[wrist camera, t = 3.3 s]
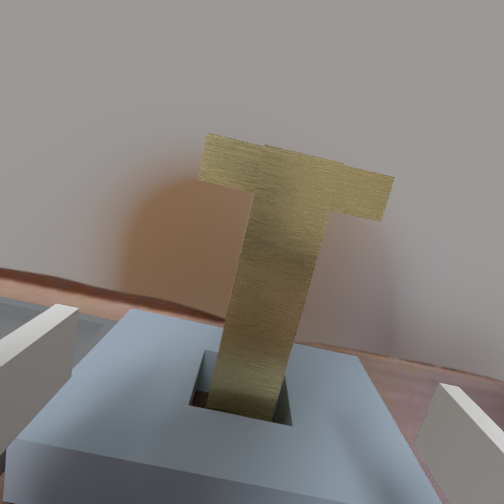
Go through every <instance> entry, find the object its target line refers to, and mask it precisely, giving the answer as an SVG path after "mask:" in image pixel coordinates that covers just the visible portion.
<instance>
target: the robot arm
mask: <svg viewBox="0 0 504 504" xmlns="http://www.w3.org/2000/svg"><path fill="white" fill-rule="evenodd" d="M78 313H79V308H75V307H70V306H65V305H60V304H56V305H54V306H52V307H51V308H49V309H48V310H46V311H45V312H43V313H42V314H40V315H38V316H37V317H35V318H34V319H32V320H31V321H29V322H27V323H26V324H24V325H23V326H21V327H20V328H18V329H16V330H15V331H13V332H12V333H10V334H9V335H7V336H5V337H4V338H2V339H1V340H0V455H1V454H2V453H3V452H4V451H5V449H6V448H7V447H8V446H9V445H10V444H11V443H12V442H13V441H14V440H15V439H16V437H17V436H18V435H19V434H20V433H21V432H22V431H23V430H24V429H25V428H26V426H27V425H28V424H29V423H30V422H31V421H32V420H33V419H34V418H35V417H36V416H37V414H38V413H39V412H40V411H41V410H42V409H43V408H44V407H45V406H46V405H47V403H48V402H49V401H50V400H51V399H52V398H53V397H54V396H55V395H56V394H57V393H58V391H59V390H60V389H61V388H62V387H63V386H64V385H65V384H66V383H67V382H68V380H69V379H70V378H71V375H72V366H73V357H74V348H75V340H76V331H77V322H78ZM414 445H415V447H416V449H417V450H418V452H419V454H420V455H421V457H422V459H423V460H424V462H425V463H426V465H427V467H428V468H429V470H430V472H431V473H432V475H433V477H434V478H435V480H436V482H437V483H438V485H439V486H440V488H441V490H442V491H443V493H444V495H445V496H446V498H447V500H448V501H449V503H450V504H504V432H503V431H502V430H501V429H500V428H499V427H498V426H497V425H496V424H495V423H494V422H493V421H492V420H491V419H490V418H489V417H488V416H487V415H486V414H485V413H484V412H483V411H482V410H481V409H480V408H479V407H478V406H477V405H476V404H475V403H474V402H473V401H472V400H471V399H470V398H469V397H468V396H467V395H466V394H465V393H464V392H463V391H462V390H461V389H460V388H459V387H458V386H453V385H448V384H443V383H439V384H438V386H437V389H436V391H435V394H434V396H433V399H432V401H431V404H430V406H429V409H428V411H427V414H426V416H425V419H424V421H423V424H422V426H421V429H420V431H419V434H418V436H417V438H416V441H415V443H414Z"/></svg>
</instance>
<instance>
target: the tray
mask: <svg viewBox="0 0 504 504" xmlns="http://www.w3.org/2000/svg"><path fill="white" fill-rule="evenodd" d="M49 308H51V307H48V306H43V305H38V304H34V303H29V302H24V301H19V300H15V299H10V298H5V297H0V340H1V339H2V338H4V337H5V336H7V335H9V334H10V333H12V332H13V331H15V330H16V329H18V328H20V327H21V326H23V325H24V324H26V323H27V322H29V321H31V320H32V319H34V318H35V317H37V316H38V315H40V314H42V313H43V312H45V311H46V310H48V309H49ZM118 322H119V321H114V320H109V319H105V318H100V317H95V316H90V315H86V314H81V313H78V322H77V331H76V340H75V348H74V357H73V366H72V369H73V368H74V367H75V366H76V365H77V364H78V363H79V362H80V361H81V360H82V359H83V358H84V357H85V356H86V355H87V354H88V353H89V352H90V351H91V350H92V349H93V348H94V347H95V346H96V345H97V344H98V342H99V341H100V340H101V339H102V338H103V337H104V336H105V335H106V334H107V333H108V332H109V331H110V330H111V329H112V328H113V327H114V326H115V325H116V324H117V323H118ZM6 449H7V448H6ZM6 449H5V451H4V452H3V453H2V454H1V455H0V474H1V473H2V472H3V471H4V470H5V464H6Z"/></svg>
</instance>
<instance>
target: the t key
mask: <svg viewBox="0 0 504 504" xmlns="http://www.w3.org/2000/svg"><path fill="white" fill-rule="evenodd" d="M199 180H201V181H206V182H210V183H214V184H219V185H223V186H227V187H231V188H236V189H240V190H245V191H249V192H253V193H254V194H253V198H252V203H251V207H250V212H249V216H248V221H247V225H246V230H245V234H244V239H243V243H242V248H241V252H240V256H239V261H238V266H237V270H236V274H235V279H234V283H233V288H232V292H231V297H230V301H229V306H228V310H227V315H226V319H225V323H224V328H223V332H222V337H221V341H220V346H219V350H218V355H217V359H216V364H215V368H214V373H213V377H212V382H211V386H210V390H209V395H208V399H207V404H206V409H209V410H214V411H219V412H224V413H229V414H234V415H239V416H244V417H249V418H254V419H258V420H263V421H268V422H271V421H272V418H273V414H274V410H275V407H276V403H277V400H278V396H279V393H280V389H281V385H282V382H283V378H284V375H285V371H286V367H287V364H288V360H289V357H290V353H291V350H292V346H293V342H294V339H295V335H296V332H297V328H298V324H299V321H300V317H301V314H302V310H303V307H304V303H305V299H306V296H307V292H308V289H309V285H310V282H311V278H312V274H313V271H314V267H315V263H316V260H317V256H318V252H319V249H320V245H321V242H322V238H323V235H324V231H325V228H326V224H327V221H328V217H329V213H330V210H331V211H336V212H341V213H344V214H349V215H353V216H357V217H362V218H366V219H370V220H375V221H379V222H381V219H382V216H383V213H384V210H385V207H386V203H387V200H388V197H389V194H390V190H391V188H392V184H393V181H394V177H391V176H387V175H383V174H379V173H375V172H370V171H366V170H362V169H358V168H354V167H349V166H345V165H343V163H339V162H336V161H331V160H327V159H323V158H319V157H314V156H310V155H306V154H302V153H297V152H293V151H289V150H285V149H281V148H276V147H272V146H268V145H265V146H260V145H255V144H251V143H248V142H243V141H239V140H235V139H231V138H227V137H222V136H218V135H214V134H209V133H207V136H206V142H205V147H204V152H203V158H202V163H201V169H200V174H199Z"/></svg>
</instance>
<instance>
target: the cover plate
mask: <svg viewBox="0 0 504 504" xmlns="http://www.w3.org/2000/svg"><path fill="white" fill-rule="evenodd" d="M222 332H223V328H221V327H217V326H212V325H207V324H202V323H198V322H193V321H188V320H184V319H179V318H174V317H170V316H165V315H160V314H156V313H151V312H146V311H141V310H137V309H132V308H131V309H130V310H129V311H128V312H127V313H126V314H125V316H124V317H123V318H122V319H121V320H120V321H119V322H118V323H117V324H116V325H115V326H114V327H113V328H112V329H111V330H110V331H109V332H108V333H107V334H106V335H105V336H104V337H103V338H102V339H101V340H100V341H99V342H98V344H97V345H96V346H95V347H94V348H93V349H92V350H91V351H90V352H89V353H88V354H87V355H86V356H85V357H84V358H83V359H82V360H81V361H80V362H79V363H78V364H77V365H76V366H75V367H74V368H73V369H72V375H71V378H70V379H69V380H68V382H67V383H66V384H65V385H64V386H63V387H62V388H61V389H60V390H59V391H58V393H57V394H56V395H55V396H54V397H53V398H52V399H51V400H50V401H49V402H48V403H47V405H46V406H45V407H44V408H43V409H42V410H41V411H40V412H39V413H38V414H37V416H36V417H35V418H34V419H33V420H32V421H31V422H30V423H29V424H28V425H27V426H26V428H25V429H24V430H23V431H22V432H21V433H20V434H19V435H18V436H17V437H16V439H15V440H14V441H13V442H12V443H11V444H10V445H9V446H8V447H7V449H6V464H5V479H4V494H3V501H4V502H10V503H15V504H442V502H441V501H440V499H439V497H438V495H437V494H436V492H435V490H434V489H433V487H432V485H431V483H430V482H429V480H428V478H427V476H426V475H425V473H424V471H423V469H422V468H421V466H420V464H419V463H418V461H417V459H416V457H415V456H414V454H413V452H412V450H411V449H410V447H409V445H408V443H407V442H406V440H405V438H404V437H403V435H402V433H401V431H400V430H399V428H398V426H397V424H396V423H395V421H394V419H393V417H392V416H391V414H390V412H389V411H388V409H387V407H386V405H385V404H384V402H383V400H382V398H381V397H380V395H379V393H378V391H377V390H376V388H375V386H374V385H373V383H372V381H371V379H370V378H369V376H368V374H367V372H366V371H365V369H364V367H363V365H362V364H361V362H360V360H359V359H358V357H357V356H353V355H348V354H343V353H339V352H334V351H329V350H325V349H320V348H315V347H311V346H306V345H301V344H296V343H293V346H292V350H291V353H290V357H289V360H288V364H287V367H286V371H285V375H284V378H283V382H282V385H281V389H280V393H279V396H278V400H277V403H276V407H275V410H274V414H273V417H274V423H273V422H268V421H263V420H258V419H254V418H249V417H244V416H239V415H234V414H229V413H224V412H219V411H214V410H209V409H204V408H199V407H194V406H192V403H193V399H194V396H195V392H196V390H198V391H203V392H208V393H209V390H210V386H211V382H212V377H213V373H214V368H215V364H216V359H217V355H218V350H219V346H220V341H221V337H222Z"/></svg>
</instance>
